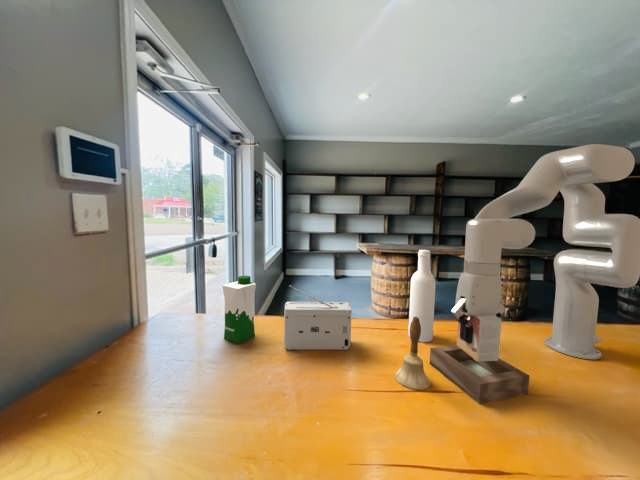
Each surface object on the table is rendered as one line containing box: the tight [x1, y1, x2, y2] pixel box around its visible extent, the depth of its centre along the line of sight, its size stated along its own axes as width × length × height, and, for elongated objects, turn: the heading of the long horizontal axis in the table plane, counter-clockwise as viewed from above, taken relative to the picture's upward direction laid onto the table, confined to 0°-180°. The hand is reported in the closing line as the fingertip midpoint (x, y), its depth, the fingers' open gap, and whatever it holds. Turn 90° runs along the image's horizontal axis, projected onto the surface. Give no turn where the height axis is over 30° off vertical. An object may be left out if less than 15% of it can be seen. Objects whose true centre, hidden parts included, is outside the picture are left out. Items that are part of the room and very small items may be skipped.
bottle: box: [407, 249, 436, 343], centre depth 86 cm, size 8×8×30 cm
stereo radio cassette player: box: [283, 285, 352, 351], centre depth 79 cm, size 21×8×20 cm, turn 92°
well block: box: [429, 344, 530, 405], centre depth 64 cm, size 14×16×4 cm
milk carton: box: [222, 275, 257, 345], centre depth 83 cm, size 9×9×20 cm
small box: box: [455, 311, 503, 362], centre depth 63 cm, size 8×6×10 cm
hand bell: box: [394, 317, 431, 391], centre depth 63 cm, size 8×8×16 cm
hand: (476, 338), depth 64 cm, fingers closed on small box, 6 cm apart
